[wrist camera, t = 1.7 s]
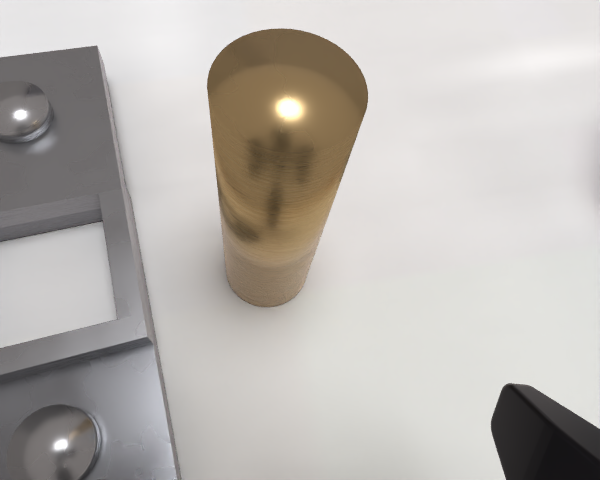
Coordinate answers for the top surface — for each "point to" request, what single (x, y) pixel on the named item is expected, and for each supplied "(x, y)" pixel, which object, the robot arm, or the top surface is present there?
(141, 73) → the top surface
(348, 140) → the bronze cylinder
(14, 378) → the grey frame with knob
